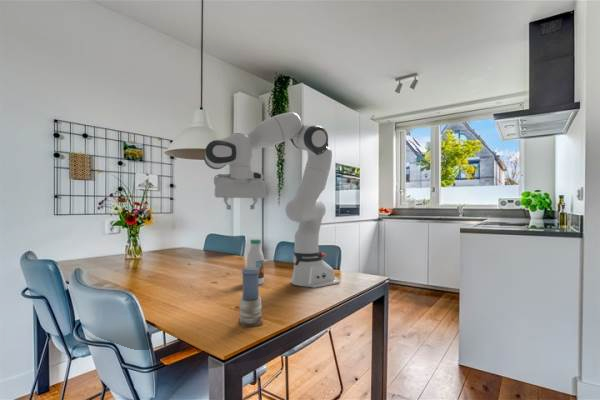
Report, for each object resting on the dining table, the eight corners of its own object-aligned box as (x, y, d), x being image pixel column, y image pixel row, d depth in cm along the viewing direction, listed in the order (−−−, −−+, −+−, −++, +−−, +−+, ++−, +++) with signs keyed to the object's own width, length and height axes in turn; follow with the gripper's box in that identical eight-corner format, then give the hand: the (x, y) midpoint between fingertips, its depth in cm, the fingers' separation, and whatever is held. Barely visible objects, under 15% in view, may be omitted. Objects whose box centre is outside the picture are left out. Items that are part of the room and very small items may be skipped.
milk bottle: (249, 286, 135) (249, 240, 135) (245, 281, 142) (245, 238, 142) (266, 284, 138) (266, 239, 138) (261, 280, 145) (261, 238, 145)
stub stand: (258, 317, 98) (258, 294, 98) (264, 325, 92) (264, 300, 92) (237, 320, 95) (237, 296, 95) (241, 328, 89) (241, 303, 89)
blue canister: (256, 295, 97) (256, 266, 97) (261, 300, 92) (261, 270, 92) (240, 297, 95) (240, 268, 95) (243, 302, 90) (243, 271, 90)
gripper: (214, 173, 115) (214, 209, 115) (267, 175, 123) (267, 209, 122) (213, 174, 121) (212, 209, 121) (263, 176, 128) (263, 209, 128)
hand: (240, 209), depth 122 cm, fingers open, 8 cm apart
